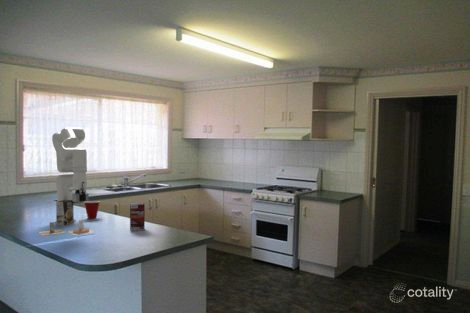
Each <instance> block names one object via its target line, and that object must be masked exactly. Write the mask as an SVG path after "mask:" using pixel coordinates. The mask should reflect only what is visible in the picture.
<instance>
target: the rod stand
mask: <svg viewBox="0 0 470 313" xmlns="http://www.w3.org/2000/svg"><path fill="white" fill-rule="evenodd" d="M65 233H67V231H65V230H64V229H61V228H57V229H55V221H52V222H49V230H42V231H38V234H40V235H41V236H43V237H45V236H52V235H58V234H65Z"/></svg>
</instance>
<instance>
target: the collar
mask: <svg viewBox="0 0 470 313" xmlns="http://www.w3.org/2000/svg"><path fill="white" fill-rule="evenodd" d="M71 193H72V201H73V203H84V202H86V201H90V199H89V197H90V196H89V195H90V193H88V192H86V201H80V193H75V192H74V193H73V192H71Z"/></svg>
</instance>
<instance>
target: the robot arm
mask: <svg viewBox="0 0 470 313" xmlns="http://www.w3.org/2000/svg"><path fill="white" fill-rule="evenodd" d="M85 138H86V132H85V130H84V129H83V128H82V127H64V128H62V129H61V130H60V131H59V132H55V133H53V134H52V135H51V141H52V145H53V148H54V150H55V153H56V156H55V157H56V169H57V171H58V173H62V174H60V175H59V174H58V176H56V177H55V178H54V179H55V188H56V200H57V201H56V202H58V201H62V200H72V193H73V192H71V191H70V190H69V189H74V193H80V201H84V202H86V193H87V182H88V181H87V172H88V165H87V164H88V163H87V162H88V159H87V154H88V152H87V149H86V148H81V147H80V148H79V147H78V146H79V145H81V144H82V143H83V142H84V141H85ZM63 173H65V174H63ZM66 173H71V174H66ZM76 220H77V219H76V218H75V217H74V222H76ZM54 223H56V219H55V220H54Z"/></svg>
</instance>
